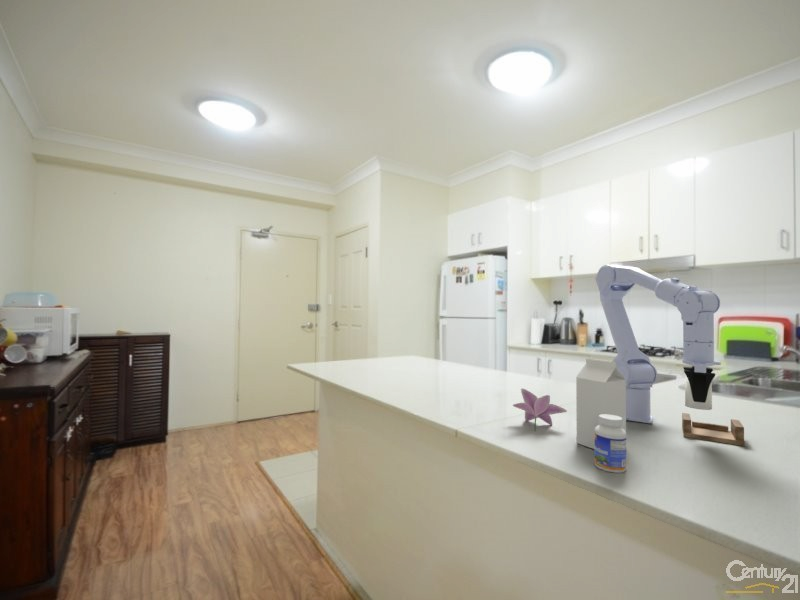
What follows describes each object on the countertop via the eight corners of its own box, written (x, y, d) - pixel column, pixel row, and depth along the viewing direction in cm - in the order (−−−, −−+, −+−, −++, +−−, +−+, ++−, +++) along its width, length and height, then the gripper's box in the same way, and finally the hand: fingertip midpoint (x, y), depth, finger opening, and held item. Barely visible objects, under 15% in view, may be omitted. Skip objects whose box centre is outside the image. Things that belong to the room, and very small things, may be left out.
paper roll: (686, 407, 90) (685, 381, 90) (684, 403, 94) (684, 378, 94) (713, 411, 87) (713, 384, 87) (710, 406, 91) (710, 380, 91)
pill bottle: (588, 462, 76) (588, 413, 76) (614, 461, 77) (614, 412, 77) (605, 474, 71) (605, 420, 71) (633, 473, 71) (633, 420, 71)
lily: (573, 437, 95) (570, 398, 99) (542, 424, 89) (541, 384, 94) (532, 439, 104) (532, 404, 108) (502, 428, 98) (503, 391, 103)
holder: (683, 436, 92) (683, 419, 92) (682, 428, 99) (682, 412, 99) (744, 446, 86) (744, 428, 86) (738, 436, 93) (738, 419, 93)
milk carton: (605, 454, 81) (605, 363, 81) (576, 443, 87) (576, 359, 87) (626, 448, 84) (626, 361, 84) (596, 438, 90) (596, 357, 91)
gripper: (723, 345, 82) (724, 408, 82) (717, 340, 94) (717, 396, 94) (682, 343, 86) (683, 403, 86) (681, 339, 98) (681, 392, 98)
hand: (698, 399), depth 90 cm, fingers closed on paper roll, 5 cm apart
